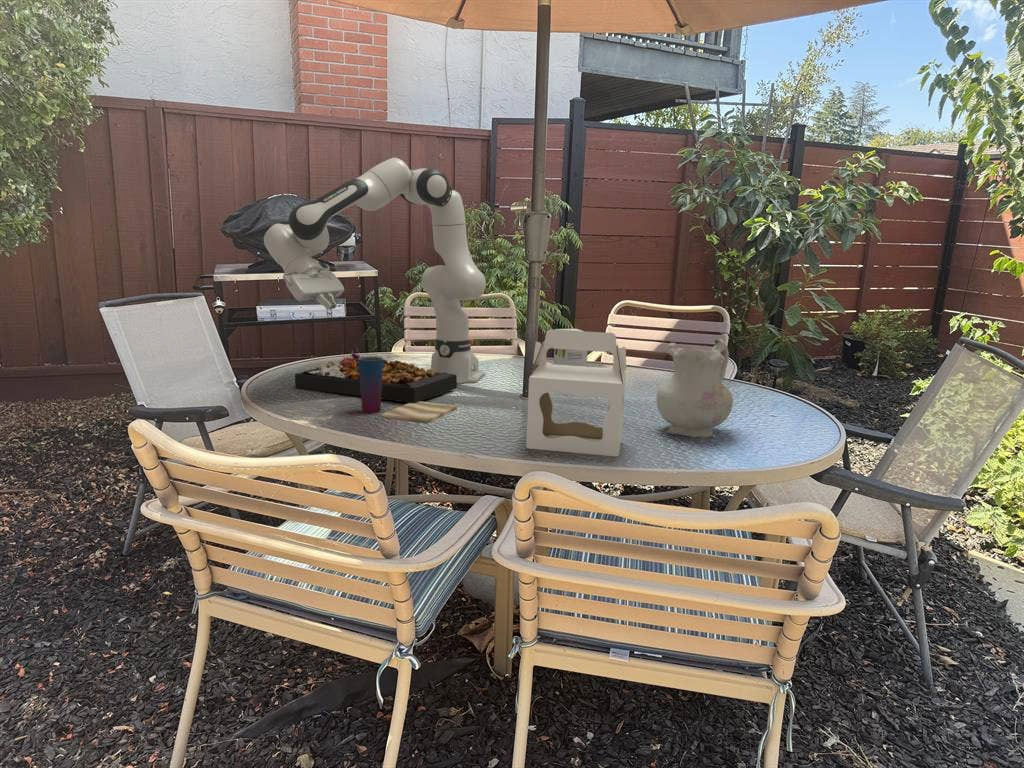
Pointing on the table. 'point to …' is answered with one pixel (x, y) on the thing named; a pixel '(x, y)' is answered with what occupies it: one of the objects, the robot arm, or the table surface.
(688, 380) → the ceramic pitcher
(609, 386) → the gable box
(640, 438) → the table surface
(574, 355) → the supplement box
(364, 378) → the cup
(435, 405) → the wooden board
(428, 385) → the food platter
